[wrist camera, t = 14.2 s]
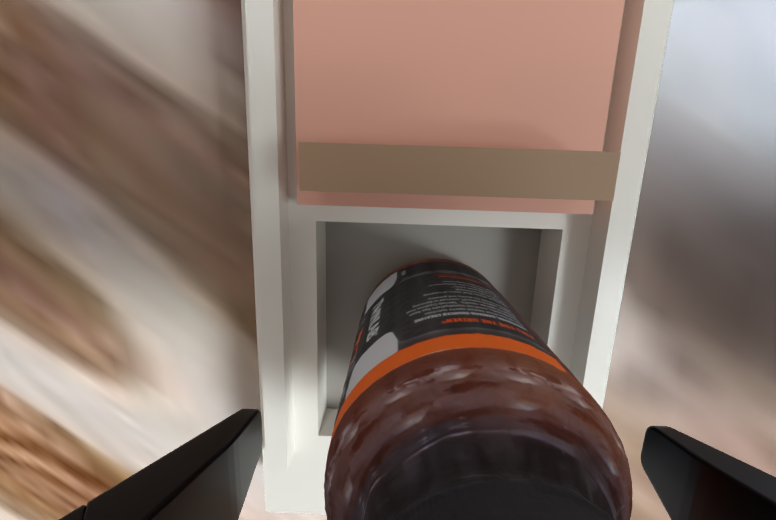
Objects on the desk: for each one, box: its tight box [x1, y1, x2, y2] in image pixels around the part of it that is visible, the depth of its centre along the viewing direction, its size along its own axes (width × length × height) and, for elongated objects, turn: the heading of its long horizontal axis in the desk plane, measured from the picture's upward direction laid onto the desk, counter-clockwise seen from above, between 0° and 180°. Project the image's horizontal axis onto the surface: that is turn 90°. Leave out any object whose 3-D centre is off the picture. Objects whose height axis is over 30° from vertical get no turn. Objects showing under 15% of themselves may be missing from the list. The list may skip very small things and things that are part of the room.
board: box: [241, 0, 674, 515], centre depth 13 cm, size 13×24×3 cm, turn 178°
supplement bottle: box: [324, 259, 632, 520], centre depth 10 cm, size 6×6×11 cm
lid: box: [293, 0, 625, 214], centre depth 10 cm, size 9×9×3 cm
